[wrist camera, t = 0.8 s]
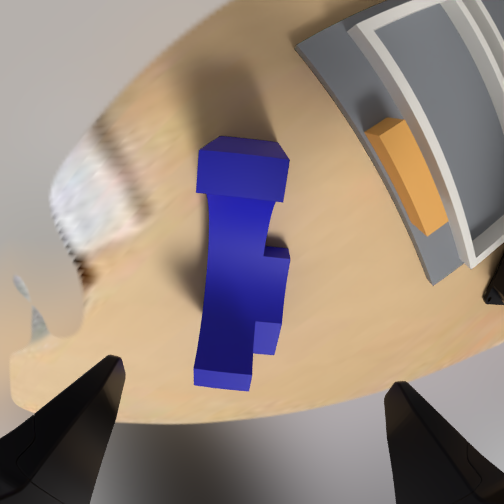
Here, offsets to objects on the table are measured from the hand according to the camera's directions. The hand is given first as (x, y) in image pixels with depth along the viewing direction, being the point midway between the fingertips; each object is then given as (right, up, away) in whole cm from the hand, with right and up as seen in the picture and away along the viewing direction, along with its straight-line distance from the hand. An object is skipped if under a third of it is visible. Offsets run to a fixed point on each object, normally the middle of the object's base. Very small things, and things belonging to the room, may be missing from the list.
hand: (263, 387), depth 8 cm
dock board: (+16, +14, +4) cm, 21 cm away
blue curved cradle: (0, +5, +9) cm, 10 cm away
